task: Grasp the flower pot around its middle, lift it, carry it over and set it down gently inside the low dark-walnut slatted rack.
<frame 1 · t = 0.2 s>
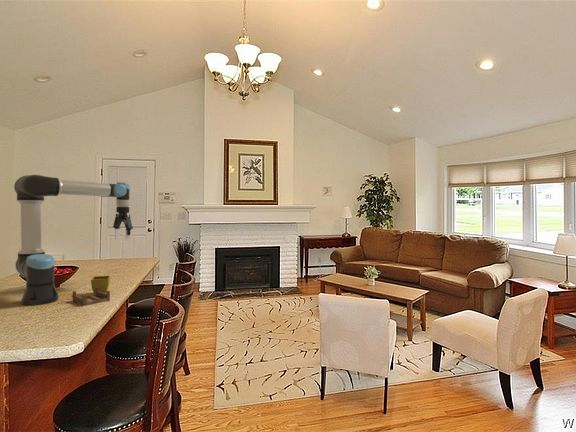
hand: (122, 239, 222), 28 cm above the countertop, fingers open, 13 cm apart
rack: (91, 300, 179), on the countertop
flower pot: (100, 293, 194), on the countertop
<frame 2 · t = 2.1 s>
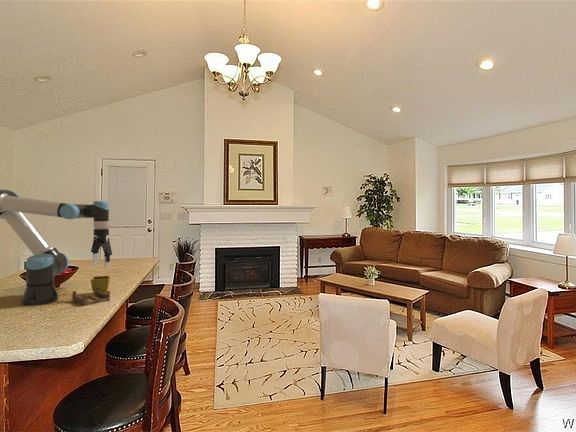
hand: (101, 266, 194), 15 cm above the countertop, fingers open, 13 cm apart
nothing on the countertop moved.
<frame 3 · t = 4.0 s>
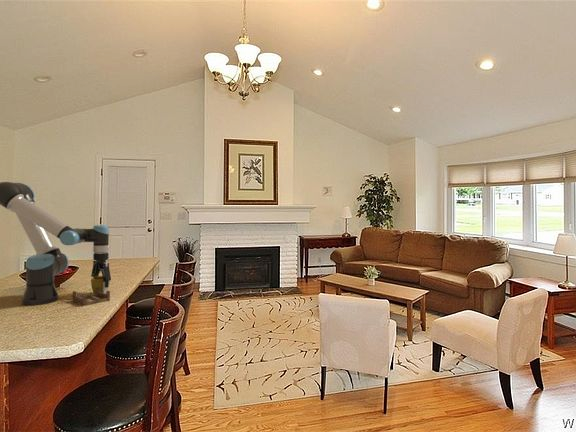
hand: (100, 291, 194), 1 cm above the countertop, fingers closed on flower pot, 11 cm apart
flower pot: (100, 293, 194), on the countertop, touching gripper
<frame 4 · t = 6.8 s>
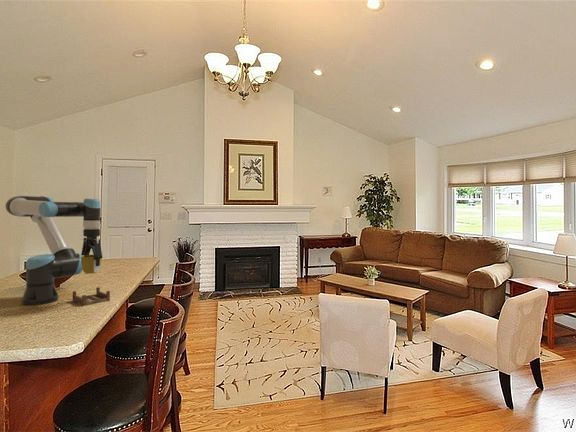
hand: (91, 270, 178), 16 cm above the countertop, fingers closed on flower pot, 11 cm apart
flower pot: (91, 273, 178), point 14 cm above the countertop, touching gripper
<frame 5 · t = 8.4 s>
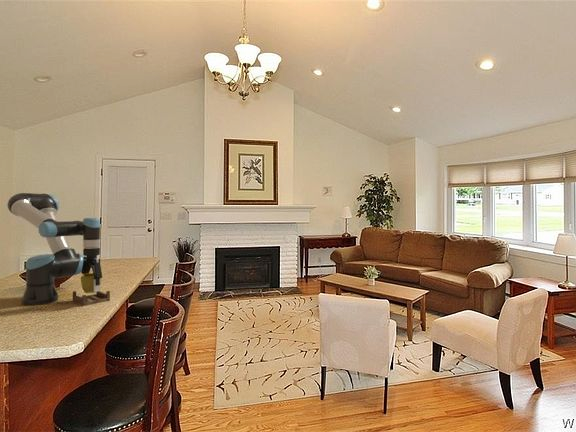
hand: (91, 289, 179), 6 cm above the countertop, fingers closed on flower pot, 11 cm apart
flower pot: (91, 292, 179), point 4 cm above the countertop, touching gripper
when the fingers open (4 cm above the countertop, at t = 9.9 s): flower pot drops 2 cm, resting on rack.
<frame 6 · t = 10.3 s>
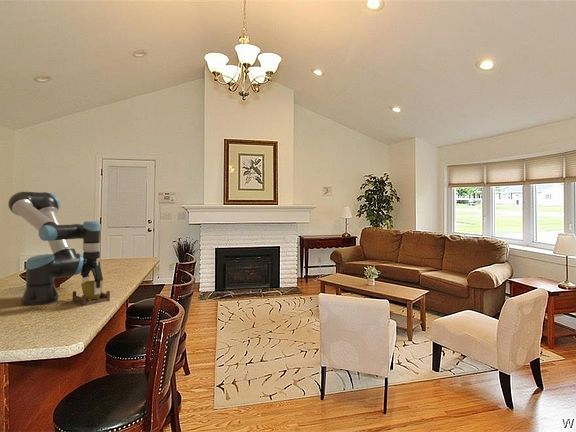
hand: (91, 291, 179), 5 cm above the countertop, fingers open, 13 cm apart
flower pot: (93, 299, 178), point 1 cm above the countertop, touching gripper, rack
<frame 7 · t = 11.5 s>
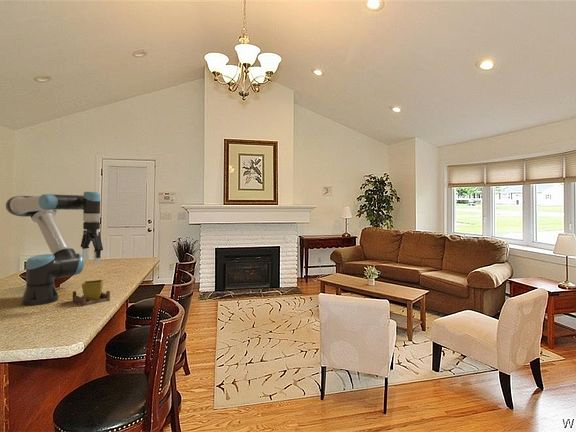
hand: (91, 262, 178), 20 cm above the countertop, fingers open, 13 cm apart
flower pot: (93, 299, 178), point 1 cm above the countertop, touching rack
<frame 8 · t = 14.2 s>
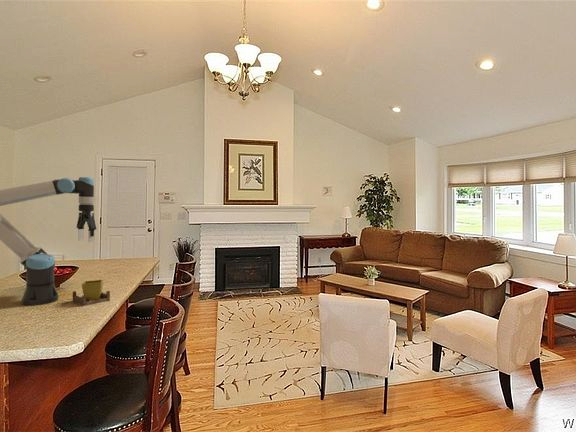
hand: (86, 241, 198), 29 cm above the countertop, fingers open, 13 cm apart
nothing on the countertop moved.
at the end: flower pot 1.8 cm off-centre on the rack, point 1.0 cm above the rack's base; flower pot tilted 5°; the gripper is holding nothing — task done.
